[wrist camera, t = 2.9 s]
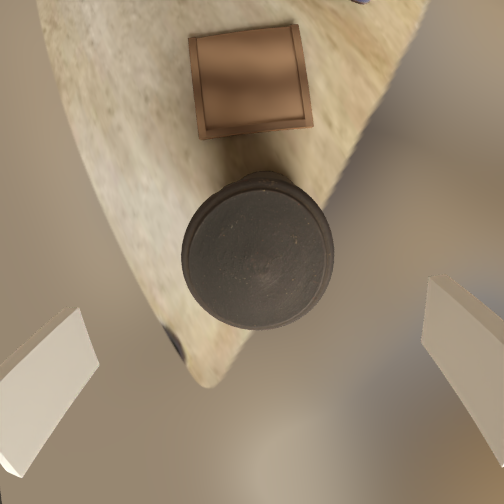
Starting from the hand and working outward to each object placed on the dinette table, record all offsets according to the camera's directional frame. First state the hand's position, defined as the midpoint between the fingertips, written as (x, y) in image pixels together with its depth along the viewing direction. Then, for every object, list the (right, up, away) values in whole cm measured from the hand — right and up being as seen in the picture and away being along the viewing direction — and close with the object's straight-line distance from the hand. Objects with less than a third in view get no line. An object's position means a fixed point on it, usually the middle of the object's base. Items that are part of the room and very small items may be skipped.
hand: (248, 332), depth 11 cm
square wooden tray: (0, +21, +21) cm, 30 cm away
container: (+1, +8, +25) cm, 26 cm away
